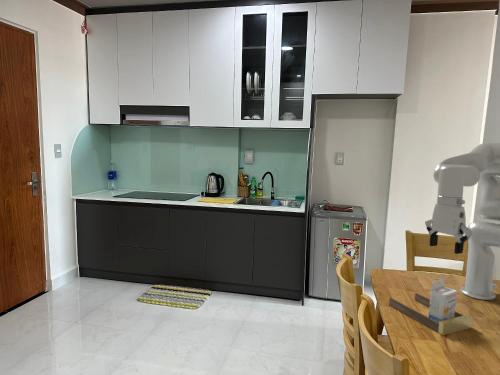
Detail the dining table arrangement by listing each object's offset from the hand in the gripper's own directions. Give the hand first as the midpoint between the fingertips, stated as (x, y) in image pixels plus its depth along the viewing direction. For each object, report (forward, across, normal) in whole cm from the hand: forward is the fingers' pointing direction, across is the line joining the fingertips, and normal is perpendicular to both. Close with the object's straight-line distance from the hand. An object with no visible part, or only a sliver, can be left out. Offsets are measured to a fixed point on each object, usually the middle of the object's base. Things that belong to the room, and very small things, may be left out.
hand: (445, 249), depth 121 cm
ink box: (+26, -1, 0) cm, 26 cm away
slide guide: (+26, +4, +1) cm, 27 cm away
